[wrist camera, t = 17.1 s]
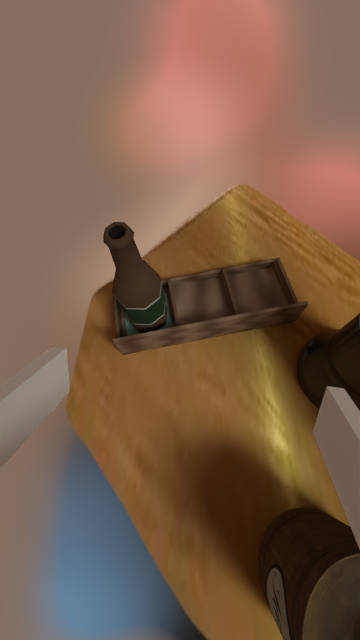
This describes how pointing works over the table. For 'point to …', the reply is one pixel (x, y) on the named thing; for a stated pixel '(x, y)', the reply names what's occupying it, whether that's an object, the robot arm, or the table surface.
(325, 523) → the wooden container
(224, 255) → the table surface
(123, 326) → the condiment rack
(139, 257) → the beer bottle
